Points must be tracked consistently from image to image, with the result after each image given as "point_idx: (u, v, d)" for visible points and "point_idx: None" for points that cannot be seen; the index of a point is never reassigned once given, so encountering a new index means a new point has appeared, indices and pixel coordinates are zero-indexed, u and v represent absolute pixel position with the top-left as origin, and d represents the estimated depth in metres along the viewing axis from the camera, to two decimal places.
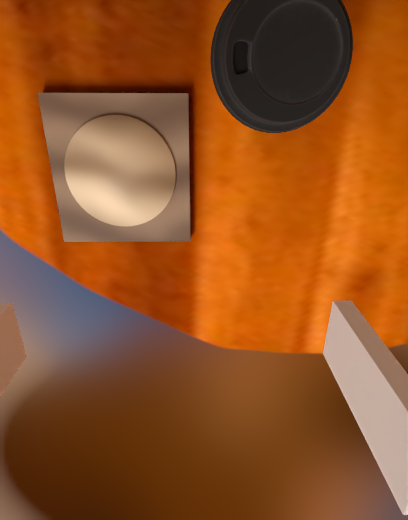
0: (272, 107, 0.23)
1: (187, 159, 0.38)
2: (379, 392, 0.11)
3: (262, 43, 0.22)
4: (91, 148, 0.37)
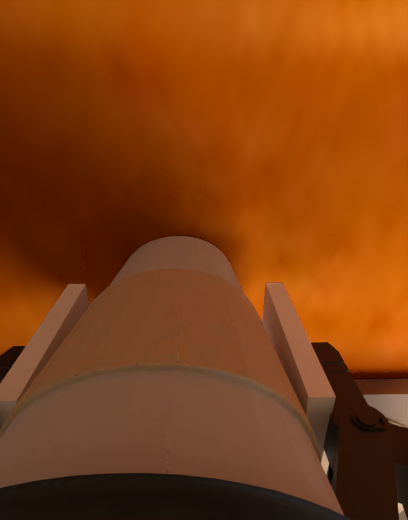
0: None
1: None
2: (286, 358, 0.12)
3: None
4: None
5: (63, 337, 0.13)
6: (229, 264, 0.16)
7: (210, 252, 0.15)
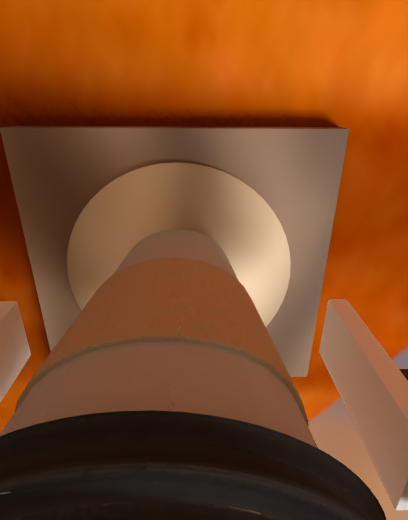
0: None
1: (142, 132, 0.16)
2: (372, 389, 0.11)
3: None
4: None
5: None
6: (225, 256, 0.17)
7: (207, 244, 0.16)
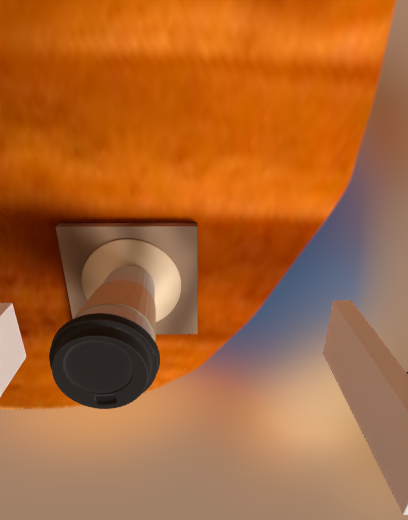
0: (136, 380, 0.29)
1: (113, 228, 0.39)
2: (379, 392, 0.11)
3: (95, 387, 0.30)
4: None
5: None
6: (149, 277, 0.41)
7: (139, 273, 0.40)
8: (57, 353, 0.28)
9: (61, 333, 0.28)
